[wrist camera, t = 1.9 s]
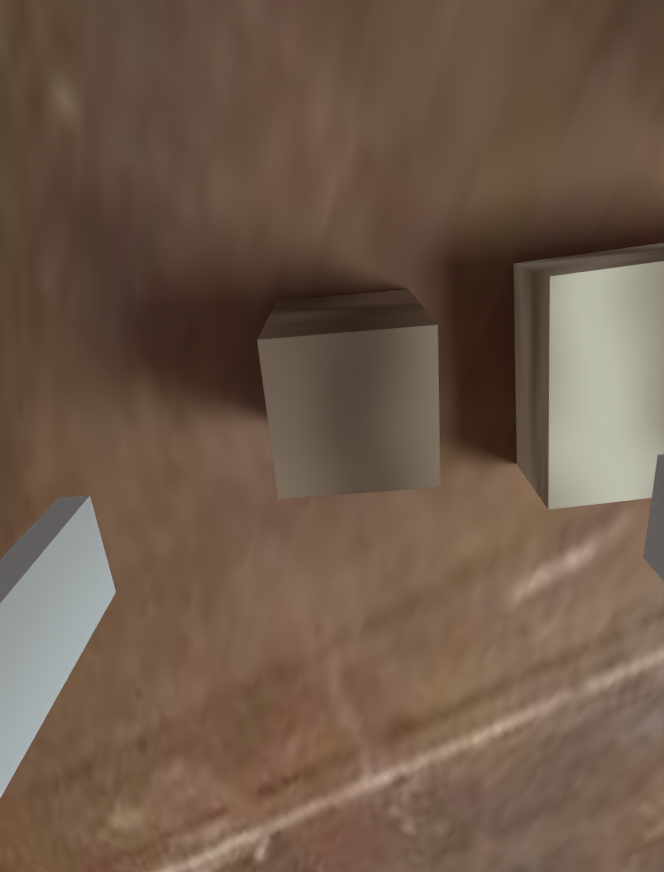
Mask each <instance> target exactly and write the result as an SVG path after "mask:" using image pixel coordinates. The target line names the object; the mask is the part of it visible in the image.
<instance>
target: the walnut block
mask: <svg viewBox="0 0 664 872" xmlns="http://www.w3.org/2000/svg"><path fill="white" fill-rule="evenodd" d="M257 344H258V351H259V358H260V366H261V373H262V381H263V388H264V396H265V403H266V411H267V418H268V425H269V433H270V440H271V448H272V455H273V463H274V470H275V478H276V485H277V492H278V499H285V498H298V497H311V496H325V495H338V494H351V493H364V492H377V491H391V490H404V489H417V488H430V487H440V430H439V364H438V324H437V323H436V322H435V321H434V319H433V318H432V317H431V316H430V315H429V314H428V312H427V311H426V310H425V309H424V308H423V306H422V305H421V304H420V303H419V302H418V300H417V299H416V298H415V297H414V296H413V295H412V293H411V292H410V291H409V290H408V289H405V290H393V291H382V292H370V293H358V294H347V295H335V296H323V297H311V298H300V299H288V300H277V302H276V304H275V306H274V308H273V310H272V312H271V314H270V315H269V317H268V319H267V321H266V323H265V325H264V327H263V329H262V331H261V333H260V335H259V337H258V339H257Z"/></svg>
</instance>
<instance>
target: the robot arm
mask: <svg viewBox="0 0 664 872" xmlns="http://www.w3.org/2000/svg"><path fill="white" fill-rule="evenodd" d="M643 558H644V559H645V560H646V561H647V562H648V563H649V565H650V566H651V567H652V568H653V569H654V570H655V572H656V573H657V574H658V575H659V576H660V577H661V579H662V580H663V581H664V454H661V455H657V463H656V470H655V477H654V484H653V492H652V499H651V506H650V513H649V521H648V528H647V535H646V542H645V550H644V557H643ZM115 593H116V591H115V588H114V584H113V580H112V576H111V573H110V569H109V565H108V562H107V558H106V554H105V550H104V547H103V543H102V539H101V536H100V532H99V528H98V525H97V521H96V517H95V513H94V510H93V506H92V502H91V499H90V496H78V497H65V498H57V499H56V501H55V502H54V503H53V504H52V505H51V506H50V507H49V508H48V509H47V510H46V511H45V512H44V513H43V514H42V516H41V517H40V518H39V519H38V520H37V521H36V522H35V523H34V524H33V525H32V526H31V527H30V528H29V530H28V531H27V532H26V533H25V534H24V535H23V536H22V537H21V538H20V539H19V540H18V541H17V542H16V543H15V545H14V546H13V547H12V548H11V549H10V550H9V551H8V552H7V553H6V554H5V555H4V556H3V557H2V559H1V560H0V798H1V796H2V794H3V792H4V791H5V789H6V787H7V785H8V784H9V782H10V780H11V778H12V776H13V775H14V773H15V771H16V769H17V767H18V766H19V764H20V762H21V760H22V759H23V757H24V755H25V753H26V751H27V750H28V748H29V746H30V744H31V743H32V741H33V739H34V737H35V735H36V734H37V732H38V730H39V728H40V726H41V725H42V723H43V721H44V719H45V718H46V716H47V714H48V712H49V710H50V709H51V707H52V705H53V703H54V701H55V700H56V698H57V696H58V694H59V693H60V691H61V689H62V687H63V685H64V684H65V682H66V680H67V678H68V677H69V675H70V673H71V671H72V669H73V668H74V666H75V664H76V662H77V660H78V659H79V657H80V655H81V653H82V652H83V650H84V648H85V646H86V644H87V643H88V641H89V639H90V637H91V635H92V634H93V632H94V630H95V628H96V627H97V625H98V623H99V621H100V619H101V618H102V616H103V614H104V612H105V610H106V609H107V607H108V605H109V603H110V602H111V600H112V598H113V596H114V594H115Z"/></svg>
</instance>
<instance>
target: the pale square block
mask: <svg viewBox="0 0 664 872" xmlns="http://www.w3.org/2000/svg"><path fill="white" fill-rule="evenodd" d="M514 320H515V385H516V449H517V465H518V467H519V468H520V469H521V471H522V472H523V474H524V475H525V477H526V478H527V480H528V481H529V482H530V484H531V485H532V487H533V488H534V490H535V491H536V492H537V494H538V495H539V497H540V498H541V500H542V501H543V503H544V504H545V505H546V507H547V508H548V510H549V509H558V508H566V507H575V506H583V505H592V504H601V503H609V502H618V501H627V500H635V499H644V498H652V492H653V484H654V477H655V470H656V463H657V455H661V454H664V243H659V244H652V245H645V246H637V247H630V248H623V249H616V250H608V251H601V252H594V253H586V254H579V255H572V256H565V257H557V258H550V259H543V260H535V261H528V262H521V263H514Z"/></svg>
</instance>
